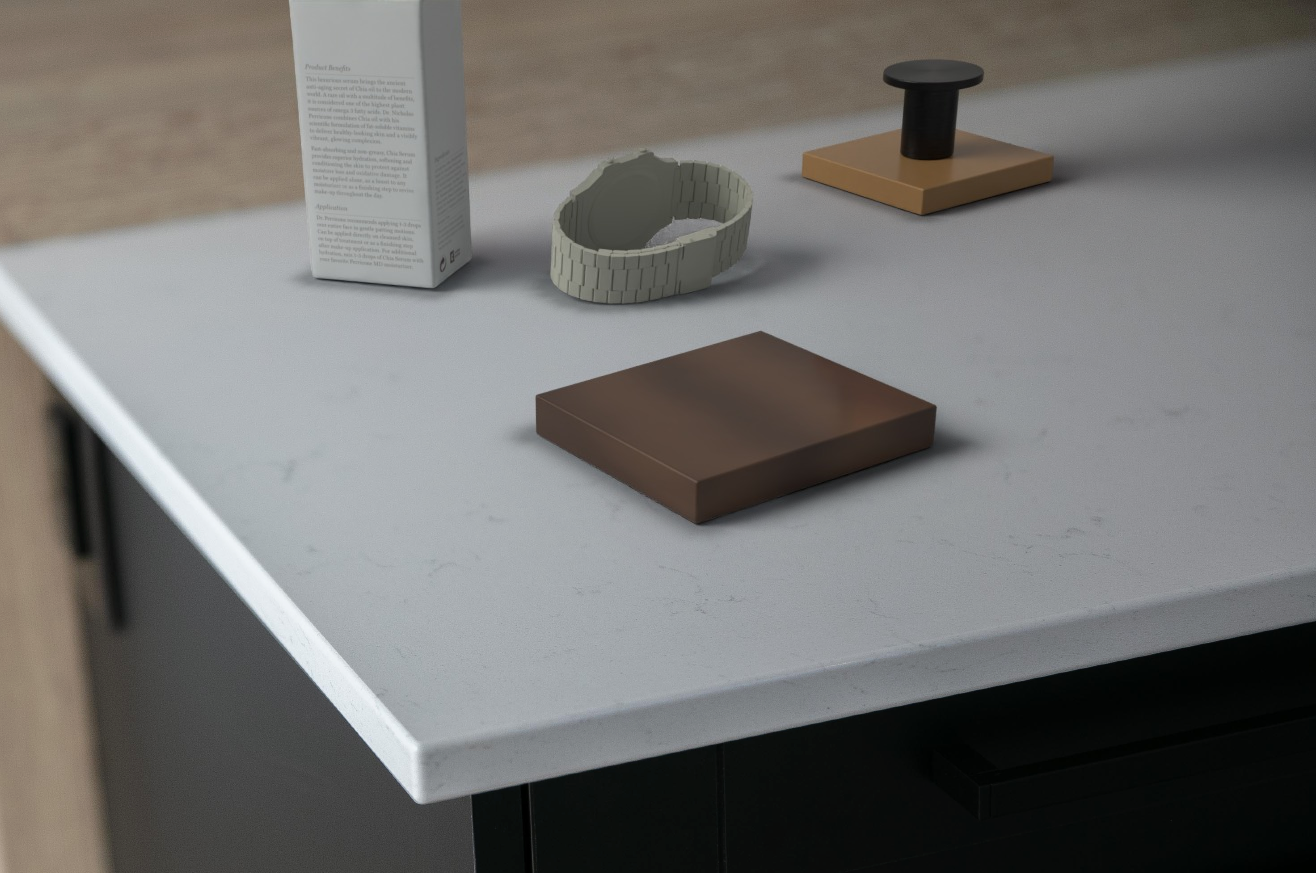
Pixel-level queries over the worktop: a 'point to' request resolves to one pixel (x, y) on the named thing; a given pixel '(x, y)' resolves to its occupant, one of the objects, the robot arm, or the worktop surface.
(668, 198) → the wristwatch
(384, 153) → the cosmetic box
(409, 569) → the worktop surface
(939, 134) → the stand
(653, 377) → the shelf board
